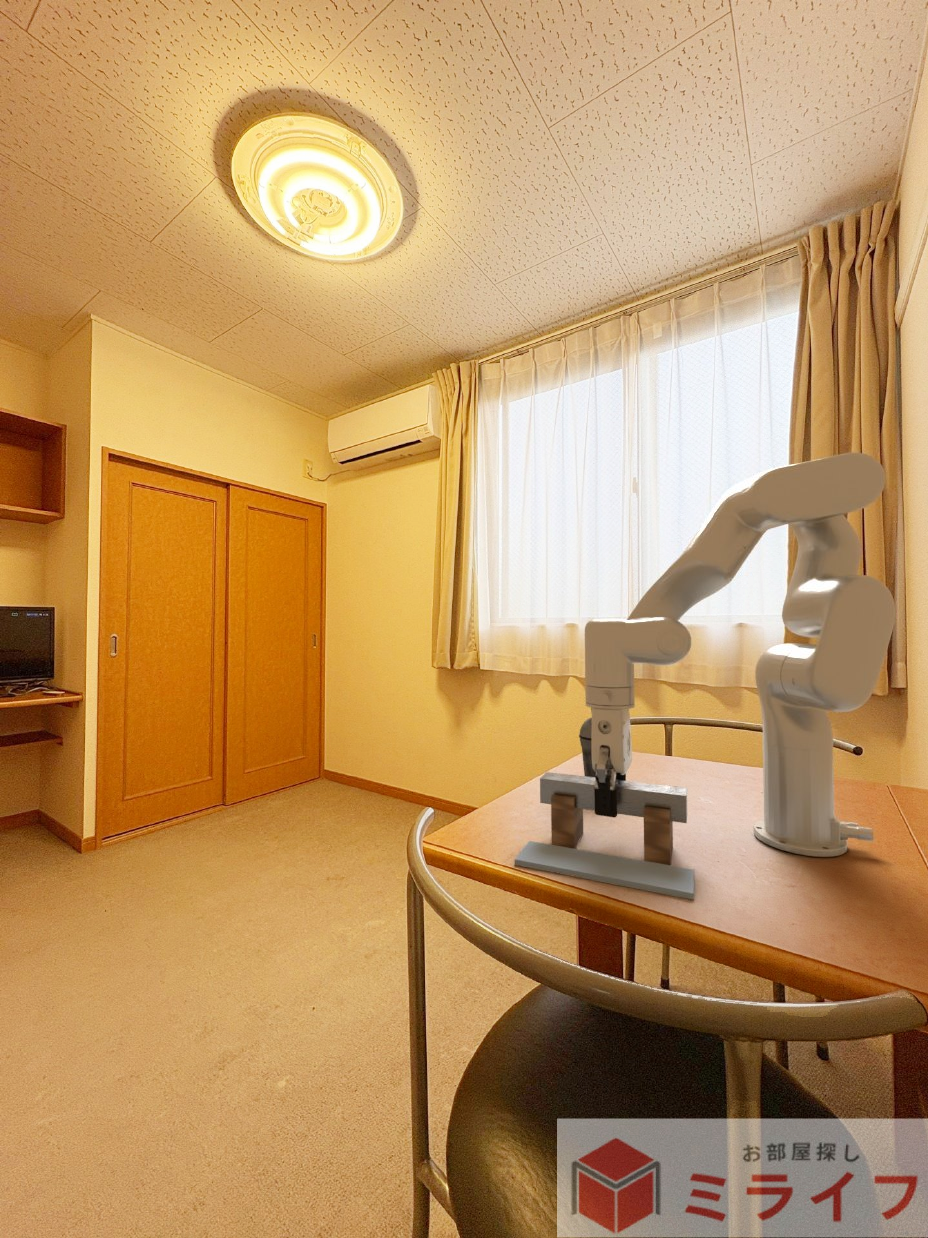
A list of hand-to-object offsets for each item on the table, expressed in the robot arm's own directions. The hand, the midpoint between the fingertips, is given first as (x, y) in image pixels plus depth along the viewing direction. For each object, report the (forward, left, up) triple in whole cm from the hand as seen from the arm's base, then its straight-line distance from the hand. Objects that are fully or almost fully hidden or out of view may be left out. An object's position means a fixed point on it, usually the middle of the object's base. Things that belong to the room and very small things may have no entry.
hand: (611, 805), depth 82 cm
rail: (0, 0, -1) cm, 1 cm away
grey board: (0, +8, -6) cm, 11 cm away
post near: (-7, 0, -6) cm, 10 cm away
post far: (+7, 0, -6) cm, 10 cm away
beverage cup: (+7, -26, -7) cm, 28 cm away
